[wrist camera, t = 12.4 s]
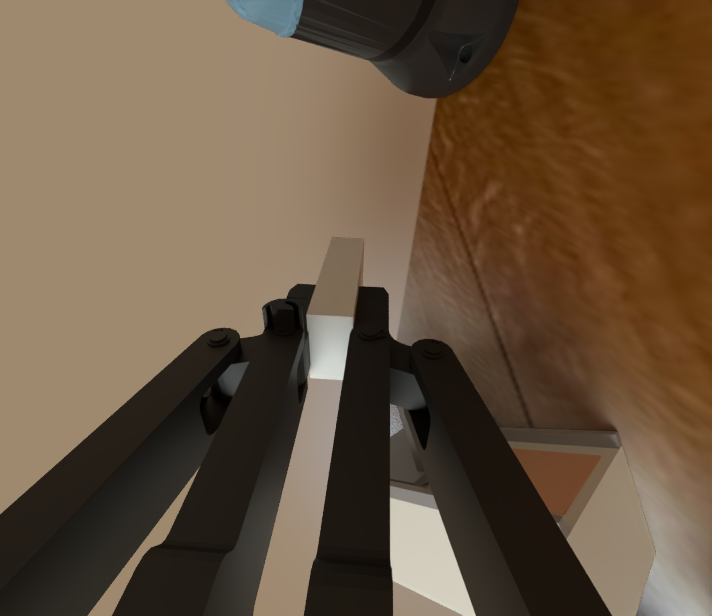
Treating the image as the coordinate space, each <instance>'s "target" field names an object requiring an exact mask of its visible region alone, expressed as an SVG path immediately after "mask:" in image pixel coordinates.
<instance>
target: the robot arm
mask: <svg viewBox="0 0 712 616" xmlns="http://www.w3.org/2000/svg"><path fill="white" fill-rule="evenodd" d="M226 2H227V3H228V5H229V6H230V7H231V8H232V9H233V11H234V12H235V13H236V14H238V15H239V16H240V17H241V18H243V19H245V20H247V21H249V22H251V23H254V24H256V25H259V26H261V27H263V28H266V29H268V30H270V31H272V32H275V34H277V35H278V36H280V37H287V38H288V37H291V38H295V39H298V40H302V41H305V42H308V43H312V44H315V45H319V46H322V47H325V48H328V49H332V50H335V51H338V52H341V53H345V54H348V55H351V56H355V57H358V58H362V59H365V60H369V61H370V62H371V63H372V64H374V66H375V67H376V68H377V69H378V70H380V72H382V73H383V74H384V75H385V76H386V77H387V78H388V79H389V80H390V81H391V82H392V83H393V84H394V85H395V86H396V87H397V88H399V89H400V90H402V91H404V92H406V93H408V94H412V95H415V96H419V97H423V98H441V97H445V96H448V95H451V94H453V93H455V92H457V91H459V90H460V89H462V88H464V87H465V86H466V85H468V84H469V83H470V82H471V81H473V80H474V79H475V78H476V77H477V76H478V75H479V74H480V73H481V72H482V71H483V70H484V69H485V67H486V66H487V65H488V64H489V62H490V61H491V60H492V58H493V57H494V55H495V54H496V53H497V51H498V49H499V48H500V46H501V44H502V42H503V40H504V39H505V37H506V34H507V32H508V30H509V28H510V25H511V23H512V20H513V18H514V15H515V11H516V8H517V4H518V0H226ZM363 256H364V238H342V237H332V239H331V242H330V245H329V248H328V251H327V254H326V257H325V260H324V263H323V266H322V269H321V272H320V275H319V278H318V281H317V284H316V285H309V284H297V285H296V286H294V287H293V288H292V289H290V291H289V293H288V296H287V298H286V299H277V300H273V301H271V302H268V303H267V304H265V305H264V306H263V307H262V311H263V318H264V326H265V329H264V332H263V334H261V335H258V336H254V337H248V338H240V335H239V333H238V332H237V331H236V330H233V329H231V328H217V329H213V330H210V331H208V332H206V333H204V334H203V335H201V336H200V337H199V338H198V339H197V340H196V341H195V342H193V343H192V344H191V345H190V346H189V347H188V348H187V349H186V350H184V351H183V352H182V353H181V354H180V355H179V356H178V357H177V358H175V359H174V360H173V361H172V362H171V363H170V364H169V365H168V366H166V367H165V368H164V369H163V370H162V371H161V372H160V373H159V374H158V375H156V376H155V377H154V378H153V379H152V380H151V381H150V382H148V383H147V384H146V385H145V386H144V387H143V388H142V389H141V390H140V391H138V392H137V393H136V394H135V395H134V396H133V397H132V398H131V399H129V400H128V401H127V402H126V403H125V404H124V405H123V406H122V407H120V408H119V409H118V410H117V411H116V412H115V413H114V414H113V415H111V416H110V417H109V418H108V419H107V420H106V421H105V422H104V423H102V424H101V425H100V426H99V427H98V428H97V429H96V430H95V431H94V432H92V433H91V434H90V435H89V436H88V437H87V438H86V439H84V440H83V441H82V442H81V443H80V444H79V445H78V446H77V447H76V448H74V449H73V450H72V451H71V452H70V453H69V454H68V455H67V456H65V457H64V458H63V459H62V460H61V461H60V462H59V463H58V464H56V465H55V466H54V467H53V468H52V469H51V470H50V471H49V472H47V473H46V474H45V475H44V476H43V477H42V478H41V479H40V480H38V481H37V482H36V483H35V484H34V485H33V486H32V487H31V488H29V489H28V490H27V491H26V492H25V493H24V494H23V495H22V496H20V497H19V498H18V499H17V500H16V501H15V502H14V503H13V504H12V505H10V506H9V507H8V508H7V509H6V510H5V511H4V512H3V513H1V514H0V616H87V615H88V614H89V613H90V611H91V610H92V609H93V607H94V606H95V605H96V604H97V602H98V601H99V600H100V598H101V597H102V596H103V594H104V593H105V591H106V590H107V589H108V588H109V586H110V585H111V584H112V582H113V581H114V580H115V578H116V577H117V576H118V574H119V573H120V572H121V570H122V569H123V568H124V566H125V565H126V564H127V562H128V561H129V560H130V558H131V557H132V556H133V554H134V553H135V552H136V550H137V549H138V548H139V546H140V545H141V544H142V542H143V541H144V540H145V539H146V537H147V536H148V535H149V533H150V532H151V531H152V529H153V528H154V526H155V525H156V524H157V523H158V521H159V520H160V519H161V517H162V516H163V515H164V513H165V512H166V511H167V509H168V508H169V507H170V505H171V504H172V502H173V501H174V500H175V499H176V497H177V496H178V495H179V493H180V492H181V491H182V489H183V488H184V487H185V485H186V484H187V483H188V481H189V480H190V479H191V478H192V476H193V475H194V473H195V472H196V471H197V469H198V468H199V467H200V468H199V470H198V472H197V475H196V477H195V479H194V481H193V483H192V485H191V488H190V490H189V492H188V494H187V496H186V498H185V500H184V502H183V505H182V507H181V509H180V511H179V513H178V515H177V517H176V519H175V522H174V524H173V526H172V528H171V530H170V532H169V534H168V536H167V537H166V539H165V540H164V541H163V543H162V544H160V545H157V546H154V547H151V548H150V549H149V550H148V551H147V553H145V554H144V556H143V557H142V559H141V561H140V562H139V564H138V566H137V567H136V569H135V571H134V573H133V575H132V577H131V579H130V581H129V583H128V585H127V587H126V589H125V591H124V593H123V595H122V597H121V599H120V601H119V603H118V605H117V607H116V609H115V611H114V613H113V615H112V616H253V611H254V605H255V600H256V596H257V592H258V588H259V584H260V580H261V576H262V572H263V568H264V564H265V560H266V556H267V552H268V548H269V544H270V540H271V536H272V531H273V527H274V523H275V519H276V515H277V511H278V507H279V503H280V499H281V495H282V490H283V487H284V483H285V478H286V475H287V471H288V467H289V463H290V459H291V454H292V450H293V446H294V442H295V438H296V434H297V430H298V426H299V422H300V418H301V414H302V410H303V405H304V402H305V398H306V394H307V389H308V384H307V383H308V382H307V376H308V372H309V369H310V378H318V379H335V380H343V383H342V390H341V396H340V403H339V410H338V417H337V423H336V430H335V437H334V444H333V450H332V457H331V463H330V471H329V477H328V484H327V490H326V497H325V504H324V511H323V517H322V524H321V531H320V537H319V544H318V550H317V555H316V558H315V560H314V562H313V565H312V569H311V575H310V580H309V586H308V592H307V598H306V605H305V611H304V616H393V583H392V582H393V578H392V567H391V561H390V403H391V404H394V405H397V406H400V407H402V408H404V414H405V417H406V420H407V423H408V426H409V428H410V431H411V434H412V437H413V440H414V443H415V445H416V448H417V451H418V454H419V457H420V459H421V462H422V465H423V468H424V471H425V474H426V476H427V479H428V482H429V485H430V488H431V491H432V493H433V496H434V499H435V502H436V505H437V507H438V510H439V513H440V516H441V519H442V522H443V524H444V527H445V530H446V533H447V536H448V539H449V541H450V544H451V547H452V550H453V553H454V556H455V558H456V561H457V564H458V567H459V570H460V572H461V575H462V578H463V581H464V584H465V587H466V589H467V592H468V595H469V598H470V601H471V604H472V606H473V609H474V612H475V615H476V616H612V614H611V613H610V611H609V609H608V608H607V606H606V604H605V603H604V601H603V599H602V598H601V596H600V594H599V593H598V591H597V589H596V588H595V586H594V584H593V583H592V581H591V579H590V578H589V576H588V574H587V573H586V571H585V569H584V568H583V566H582V565H581V563H580V561H579V560H578V558H577V556H576V555H575V553H574V551H573V550H572V548H571V546H570V545H569V543H568V541H567V540H566V538H565V536H564V535H563V533H562V531H561V530H560V528H559V526H558V525H557V523H556V521H555V520H554V518H553V516H552V515H551V513H550V511H549V510H548V508H547V506H546V505H545V503H544V501H543V500H542V498H541V496H540V495H539V493H538V491H537V490H536V488H535V486H534V485H533V483H532V482H531V480H530V478H529V477H528V475H527V473H526V472H525V470H524V468H523V467H522V465H521V463H520V462H519V460H518V458H517V457H516V455H515V453H514V452H513V450H512V448H511V447H510V445H509V443H508V442H507V440H506V438H505V437H504V435H503V433H502V432H501V430H500V428H499V427H498V425H497V423H496V422H495V420H494V418H493V417H492V415H491V413H490V412H489V410H488V408H487V407H486V405H485V404H484V402H483V400H482V399H481V397H480V395H479V394H478V392H477V390H476V389H475V387H474V385H473V384H472V382H471V380H470V379H469V377H468V375H467V374H466V372H465V370H464V369H463V367H462V365H461V364H460V362H459V360H458V359H457V357H456V355H455V354H454V352H453V350H452V349H451V348H450V347H449V346H448V345H447V344H445V343H443V342H441V341H438V340H434V339H423V340H418V341H417V342H415V343H414V344H413V345H412V347H411V346H407V345H404V344H402V343H399V342H398V341H396V340H394V339H393V338H392V337H391V335H390V334H389V311H388V310H389V294H388V293H387V292H386V290H385V289H384V288H383V287H382V288H381V287H364V286H362V285H363Z"/></svg>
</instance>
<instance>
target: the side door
mask: <svg viewBox="0 0 712 616" xmlns="http://www.w3.org/2000/svg"><path fill="white" fill-rule="evenodd" d="M397 407H398V410H399V413H400V417H401V420H402V423H403V426H404V428H403V429H402V430H400V431H399V432H397V433H396V434H394V435H393V436H391V437H390V481H394V482H399V483H404V484H409V485H414V486H419V487H422V486H423V485H424V484H425V483H426V482H427V481H428V479H427V476H426V474H425V471H424V468H423V465H422V462H421V459H420V457H419V454H418V451H417V448H416V445H415V443H414V440H413V437H412V434H411V431H410V428H409V426H408V423H407V420H406V417H405V414H404V408H402V407H400V406H397Z"/></svg>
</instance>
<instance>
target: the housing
mask: <svg viewBox="0 0 712 616" xmlns="http://www.w3.org/2000/svg"><path fill="white" fill-rule="evenodd" d="M499 428H500V430H501V432H502V433H503V435H504V437H505V438H506V440H507V442H508V443H509V445H510V447H511V448H512V450H513V452H514V453H515V455H516V457H517V458H518V460H519V462H520V463H521V465H522V467H523V468H524V470H525V472H526V473H527V475H528V477H529V478H530V480H531V482H532V483H533V485H534V486H535V488H536V490H537V491H538V493H539V495H540V496H541V498H542V500H543V501H544V503H545V505H546V506H547V508H548V510H549V511H550V513H551V515H552V516H553V518H554V520H555V521H556V523H557V525H558V526H559V528H560V530H561V531H562V533H563V535H564V536H565V538H566V540H567V541H568V543H569V545H570V546H571V548H572V550H573V551H574V553H575V555H576V556H577V558H578V560H579V561H580V563H581V565H582V566H583V568H584V569H585V571H586V573H587V574H588V576H589V578H590V579H591V581H592V583H593V584H594V586H595V588H596V589H597V591H598V593H599V594H600V596H601V598H602V599H603V601H604V603H605V604H606V606H607V608H608V609H609V611H610V613H611V614H612V616H636V613H637V610H638V607H639V604H640V601H641V598H642V594H643V591H644V588H645V585H646V582H647V579H648V576H649V573H650V570H651V566H652V563H653V560H654V557H655V554H656V551H655V548H654V545H653V542H652V538H651V535H650V532H649V529H648V526H647V523H646V520H645V516H644V513H643V510H642V507H641V504H640V501H639V498H638V494H637V491H636V488H635V485H634V482H633V479H632V476H631V473H630V469H629V466H628V463H627V460H626V457H625V454H624V451H623V447H622V444H621V441H620V438H619V435H618V432H617V431H596V430H569V429H542V428H515V427H499ZM390 561H391V567H392V578H393V581H395V582H396V583H398V584H400V585H402V586H404V587H406V588H409V589H411V590H413V591H415V592H417V593H419V594H421V595H423V596H425V597H427V598H429V599H431V600H433V601H435V602H437V603H439V604H441V605H443V606H445V607H447V608H449V609H451V610H453V611H455V612H457V613H459V614H462V615H463V616H476V615H475V612H474V609H473V606H472V604H471V601H470V598H469V595H468V592H467V589H466V587H465V584H464V581H463V578H462V575H461V572H460V570H459V567H458V564H457V561H456V558H455V556H454V553H453V550H452V547H451V544H450V541H449V539H448V536H447V533H446V530H445V527H444V524H443V522H442V519H441V516H440V513H439V510H438V507H437V505H436V502H435V499H434V496H433V493H432V491H431V488H430V485H429V482H428V481H427V482H426V483H425V484H424V485H423V486H422V487H419V486H414V485H409V484H404V483H399V482H394V481H390Z"/></svg>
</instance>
